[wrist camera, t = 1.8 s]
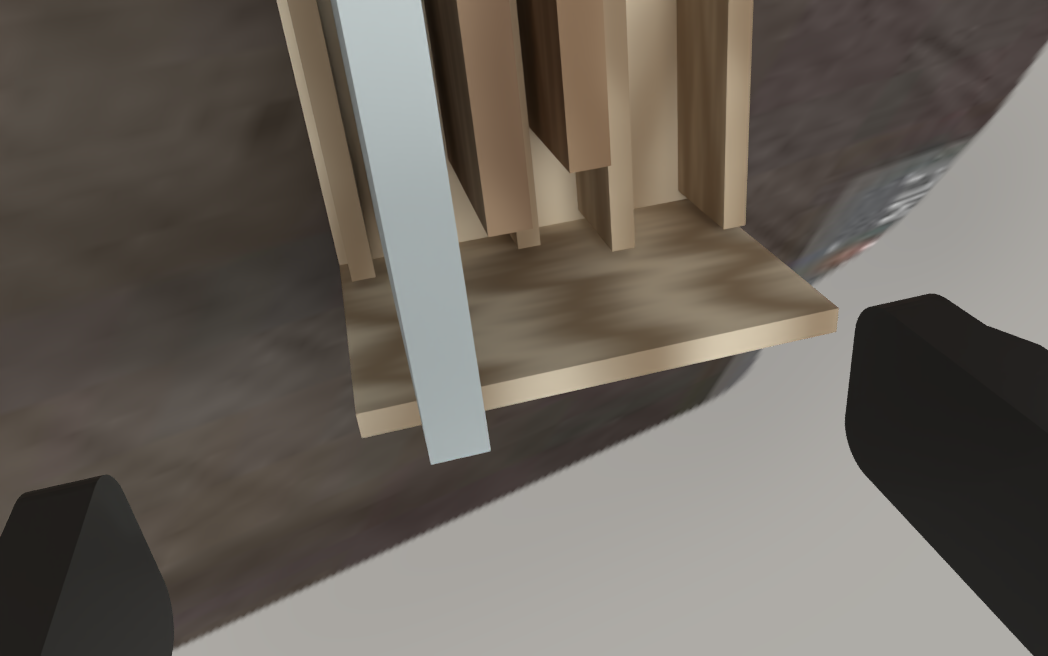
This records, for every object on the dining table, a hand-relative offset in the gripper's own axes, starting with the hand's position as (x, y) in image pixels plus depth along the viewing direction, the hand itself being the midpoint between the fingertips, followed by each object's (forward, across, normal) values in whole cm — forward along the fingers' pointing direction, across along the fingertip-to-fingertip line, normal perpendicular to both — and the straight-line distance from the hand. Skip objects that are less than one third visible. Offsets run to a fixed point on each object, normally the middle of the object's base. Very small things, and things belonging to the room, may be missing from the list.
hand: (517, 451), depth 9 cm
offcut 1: (+28, -4, 0) cm, 29 cm away
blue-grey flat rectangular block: (+28, 0, 0) cm, 28 cm away
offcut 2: (+28, -7, 0) cm, 29 cm away
